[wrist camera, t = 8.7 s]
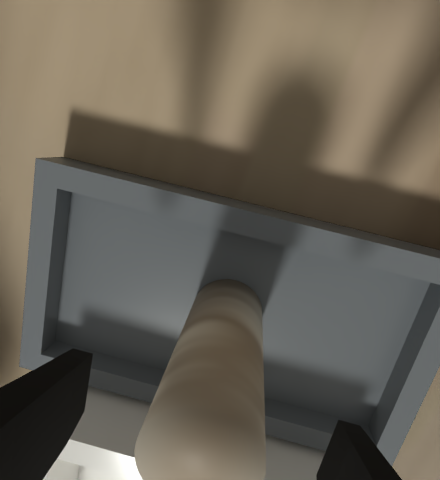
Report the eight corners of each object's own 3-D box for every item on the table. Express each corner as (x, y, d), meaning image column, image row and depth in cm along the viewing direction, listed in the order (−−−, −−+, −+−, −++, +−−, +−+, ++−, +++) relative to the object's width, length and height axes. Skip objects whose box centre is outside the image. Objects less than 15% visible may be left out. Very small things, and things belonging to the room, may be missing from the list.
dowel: (187, 332, 17) (125, 493, 9) (201, 271, 16) (146, 390, 8) (252, 349, 16) (247, 528, 9) (270, 289, 16) (282, 428, 8)
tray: (44, 344, 19) (19, 366, 17) (62, 156, 16) (35, 158, 14) (376, 434, 18) (390, 469, 16) (456, 254, 15) (485, 269, 13)
